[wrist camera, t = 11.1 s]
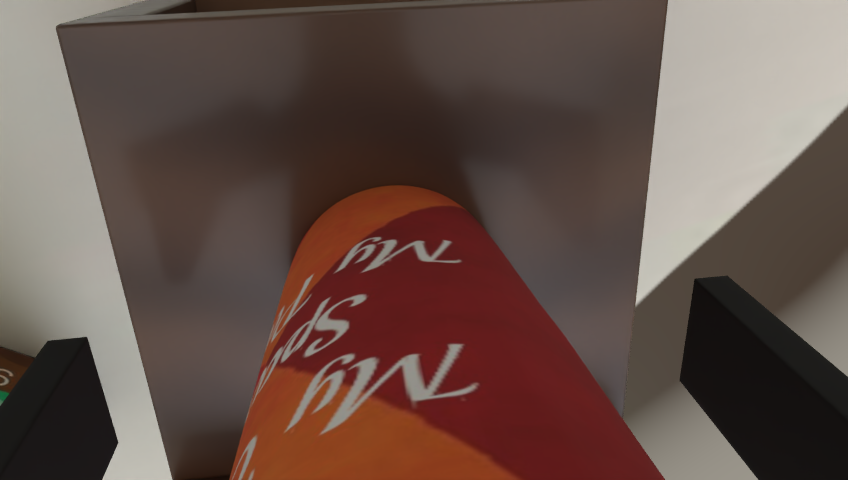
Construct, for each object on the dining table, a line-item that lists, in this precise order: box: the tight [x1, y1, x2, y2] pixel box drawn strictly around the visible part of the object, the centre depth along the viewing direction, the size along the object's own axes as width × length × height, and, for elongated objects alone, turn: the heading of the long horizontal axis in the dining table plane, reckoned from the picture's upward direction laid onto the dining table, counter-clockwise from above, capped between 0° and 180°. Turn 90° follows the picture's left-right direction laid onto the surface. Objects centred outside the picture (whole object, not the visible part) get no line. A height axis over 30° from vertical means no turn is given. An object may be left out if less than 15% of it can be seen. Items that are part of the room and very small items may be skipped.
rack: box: [56, 0, 668, 480], centre depth 23 cm, size 14×14×15 cm
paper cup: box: [229, 185, 665, 480], centre depth 11 cm, size 8×8×14 cm
